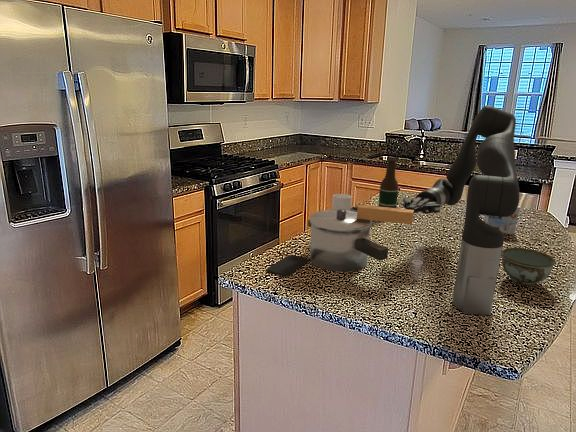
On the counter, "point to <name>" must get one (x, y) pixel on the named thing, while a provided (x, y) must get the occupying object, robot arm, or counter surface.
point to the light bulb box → (503, 222)
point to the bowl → (526, 265)
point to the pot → (343, 250)
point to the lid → (358, 218)
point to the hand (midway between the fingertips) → (410, 210)
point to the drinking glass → (341, 202)
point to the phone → (287, 265)
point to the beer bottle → (389, 187)
